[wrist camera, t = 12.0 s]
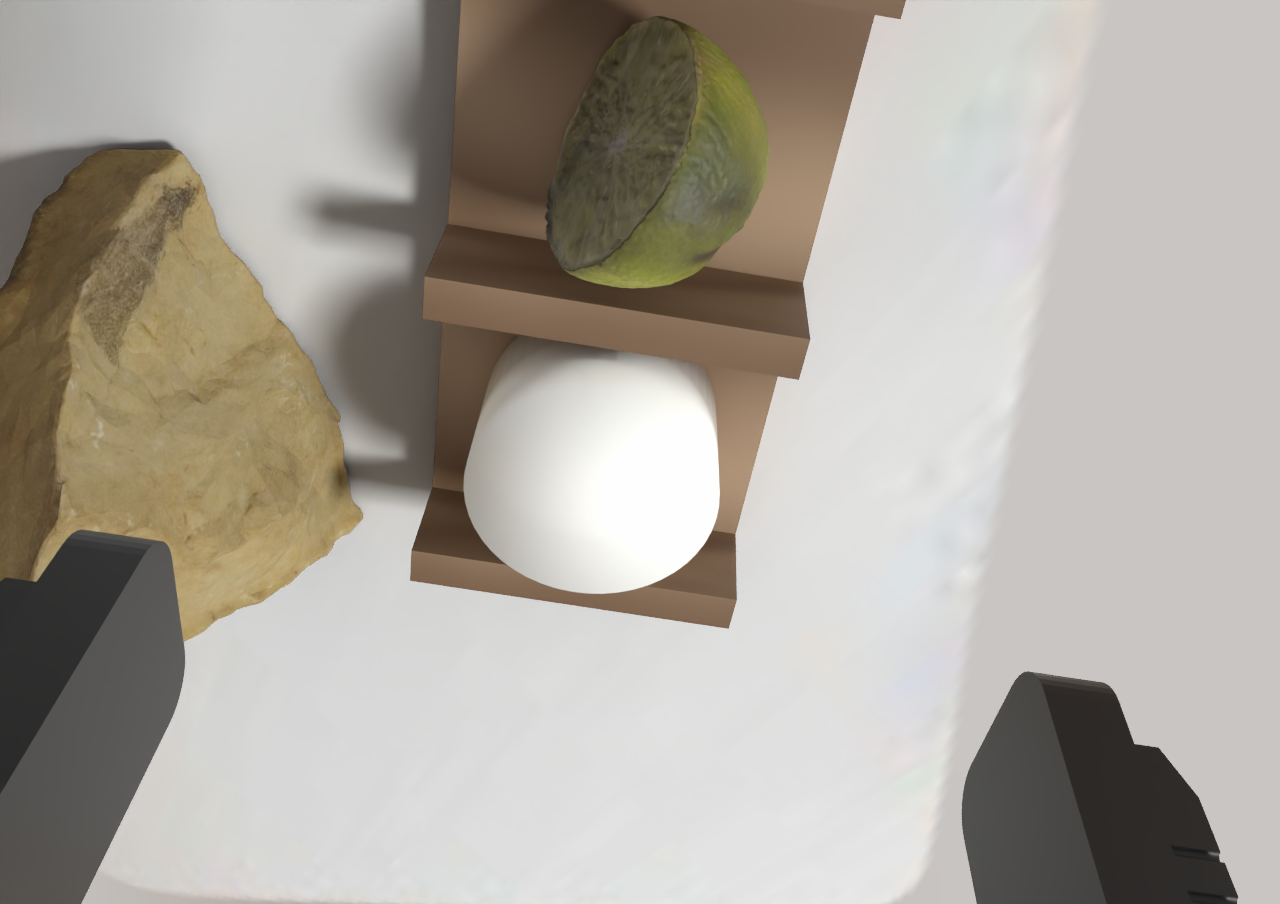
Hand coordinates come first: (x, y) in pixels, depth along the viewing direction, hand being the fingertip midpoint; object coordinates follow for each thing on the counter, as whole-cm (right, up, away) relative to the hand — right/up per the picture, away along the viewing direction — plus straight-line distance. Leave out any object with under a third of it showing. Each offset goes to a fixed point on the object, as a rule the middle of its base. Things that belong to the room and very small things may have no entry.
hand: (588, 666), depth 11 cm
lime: (+1, +9, +13) cm, 16 cm away
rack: (0, +7, +16) cm, 17 cm away
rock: (-10, +5, +18) cm, 21 cm away
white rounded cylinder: (0, +3, +17) cm, 17 cm away
